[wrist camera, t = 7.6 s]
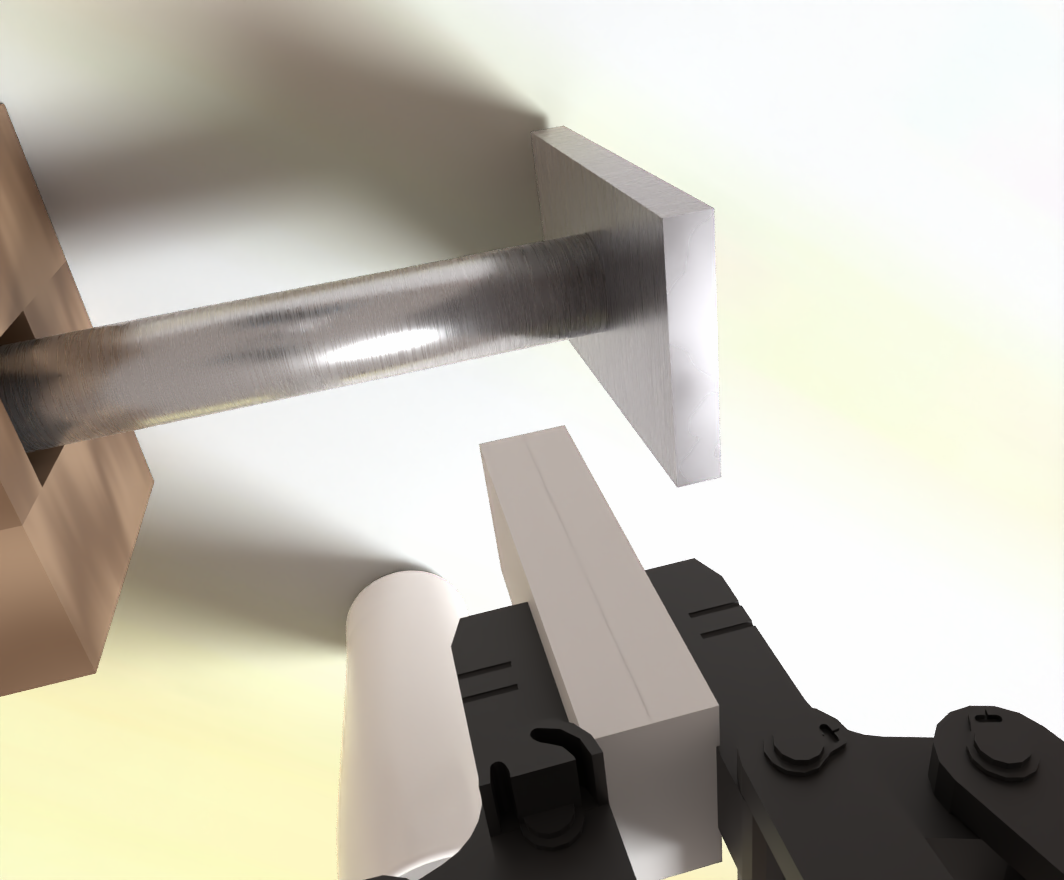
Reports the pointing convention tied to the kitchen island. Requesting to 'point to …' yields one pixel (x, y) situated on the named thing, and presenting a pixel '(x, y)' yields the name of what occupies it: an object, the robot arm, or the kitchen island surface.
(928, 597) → the kitchen island surface
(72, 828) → the kitchen island surface
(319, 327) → the shaft
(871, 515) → the kitchen island surface
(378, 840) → the drinking glass
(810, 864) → the robot arm
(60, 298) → the bearing block
